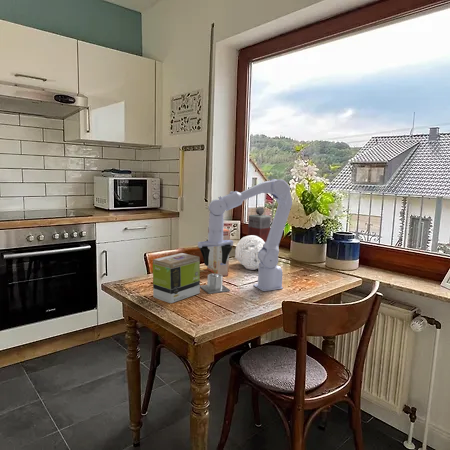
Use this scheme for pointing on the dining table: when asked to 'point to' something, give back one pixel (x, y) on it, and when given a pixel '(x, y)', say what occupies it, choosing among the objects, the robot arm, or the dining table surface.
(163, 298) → the tea box
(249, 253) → the cauliflower
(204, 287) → the duct stub
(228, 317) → the dining table surface
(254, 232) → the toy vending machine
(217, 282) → the collar
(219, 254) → the cracker box
